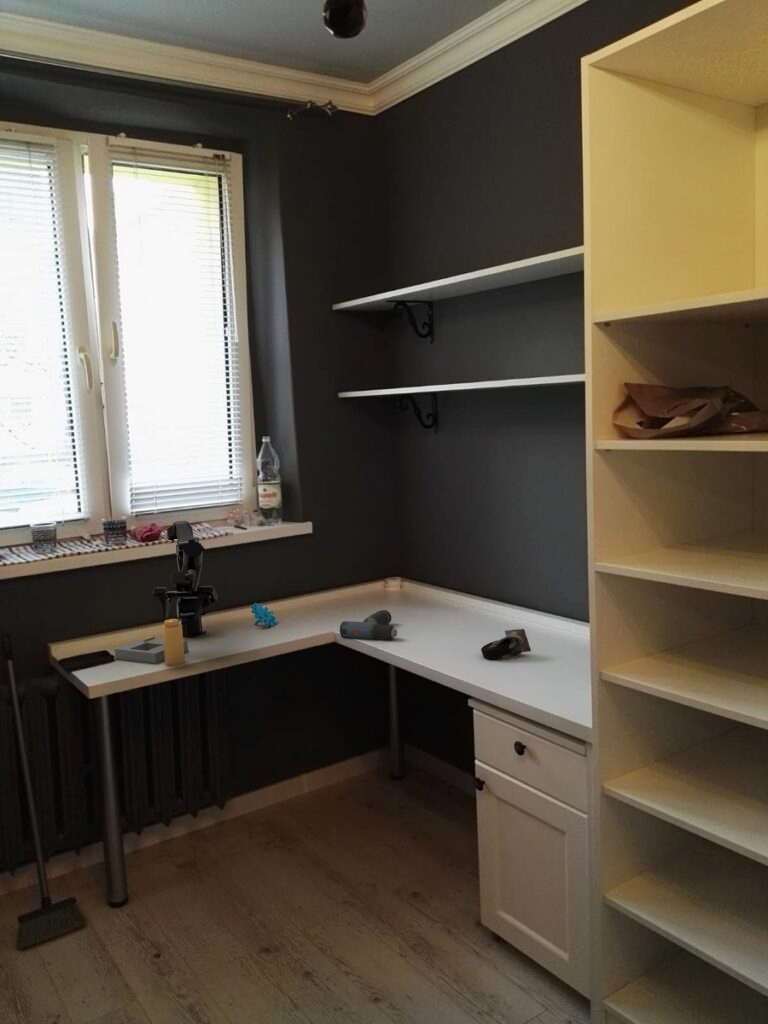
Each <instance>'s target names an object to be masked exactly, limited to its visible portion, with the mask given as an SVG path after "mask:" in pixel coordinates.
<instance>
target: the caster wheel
mask: <svg viewBox="0 0 768 1024" xmlns="http://www.w3.org/2000/svg"><path fill="white" fill-rule="evenodd" d="M504 633H505V636H504V637H503V638H500V639H497V640H493V641H491V642H489V643H486V644H484V645H483V646H482V647H481V648H480V651H481V654H482V657H483V659H485V660H494V659H499V658H501V659H503V660H514V659H516V658H517V657H518V656H519V655H521V654H522V653H527V652H532V649H531V646H530V642H529V639H528V637H527V636H528V635H527V633H526V630H525V628H517V629H507V630H504Z"/></svg>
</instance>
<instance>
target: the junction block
mask: <svg viewBox="0 0 768 1024" xmlns="http://www.w3.org/2000/svg"><path fill="white" fill-rule="evenodd" d="M188 642H189V641H188V640H183V645H184V653H185V652H188V651H189V644H188ZM114 656H115V658H116V659H115V660H122V661H123V660H124V661H130V660H131V661H132V662H138V661H140V663H147V662H148V663H147V664H155V663H156V664H158V662H159V663H161V662H164V661H165V657H164V646H163V637H162V638H161V637H160V638H159V637H156V636H155V635H152V636H147V637H144V638H142V639H138V640H136V641H133V642H130V643H127V644H124V645H122V646H121V645H120V646H118V647H116V648H114ZM163 660H164V661H163ZM160 661H161V662H160ZM149 662H150V663H149Z"/></svg>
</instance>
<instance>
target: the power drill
mask: <svg viewBox="0 0 768 1024" xmlns="http://www.w3.org/2000/svg"><path fill="white" fill-rule="evenodd" d="M392 617H393V616H392V615H391V612H389V610H387V609H381V610H378V611H376V612H374V613H372V614H370V615H369V616H367V617H366V618H364V619H363V621H353V620H352V621H351V620H350V621H349V620H348V621H346V620H345V621H344V620H343V621H342V622H341V623H340V626H339V634H340V637H342V638H348V639H349V638H351V639H360V638H361V639H363V640H393V639H394V638H396V637H397V635H398V633H399V632H398V630H397V629H396V628H395V627H394V626H393V625H389V624H390V623H391V622H392ZM361 639H360V640H361Z"/></svg>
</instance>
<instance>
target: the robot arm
mask: <svg viewBox="0 0 768 1024" xmlns="http://www.w3.org/2000/svg"><path fill="white" fill-rule="evenodd" d="M167 539H168V540H174V539H178V540H177V545H176V554H175V556H176V555H177V557H176V561H177V569H178V571H172V572H171V574H170V583H171V584H173V589H175V591H172V590H171V591H170V590H169V588H168V587H167V586H166V587H165V586H163V587H159V586H158V587H154V588H153V591H152V594H151V595H152V597H153V598H154V600H155V601H156V603H157V604H158V605H160V606H161V609H162V615H163V617H162V618H163V620H164V621H165V620H168V618H169V615H170V614H169V613H170V611H171V607H172V604H171V603H172V600H173V599H177V600H176V616H177V619H178V620H179V619H180V621H181V622H180V624H182V633H183V637H188V638H189V637H191V638H195V637H198V636H201V635H203V634H206V633H207V630H203V622H202V616H206V614H207V609H208V608H209V607H210V606H213V604H217V603H218V599H219V595H218V593H217V591H216V589H215V587H214V586H213V585H202V586H200V585H201V584H200V577H201V573H202V567H203V554H204V552H206V549H205V546H204V545H203V544H202V543H201V542H200V541H199V539H198V538H197V537H195V536H194V531H193V526H192V525H190V523H189V520H180V521H179V520H178V521H174V522H172V525H170V527H168V528H166V540H167ZM205 632H206V633H205ZM202 633H203V634H202Z"/></svg>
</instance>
